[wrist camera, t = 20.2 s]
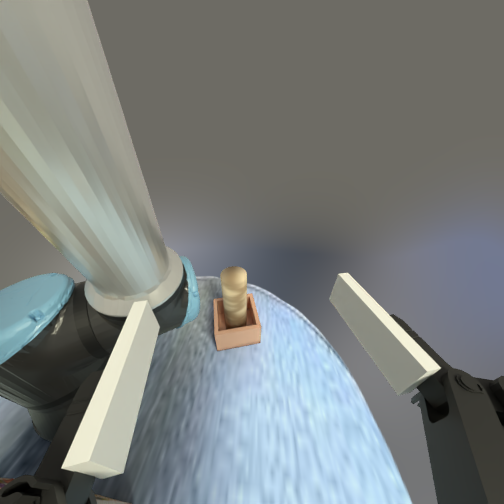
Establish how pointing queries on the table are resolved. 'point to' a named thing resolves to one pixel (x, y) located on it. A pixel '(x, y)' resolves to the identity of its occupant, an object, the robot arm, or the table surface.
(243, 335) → the box
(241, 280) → the peg
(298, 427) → the table surface
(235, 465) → the table surface
